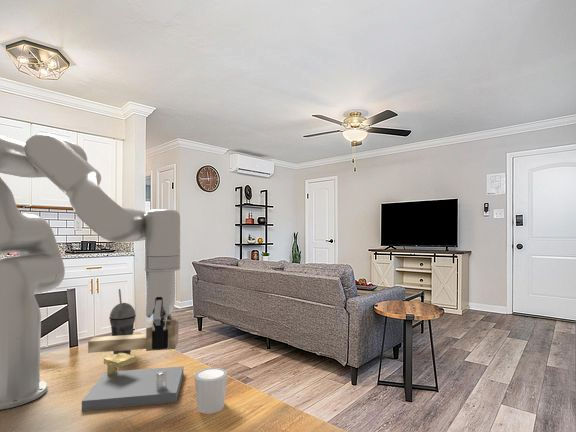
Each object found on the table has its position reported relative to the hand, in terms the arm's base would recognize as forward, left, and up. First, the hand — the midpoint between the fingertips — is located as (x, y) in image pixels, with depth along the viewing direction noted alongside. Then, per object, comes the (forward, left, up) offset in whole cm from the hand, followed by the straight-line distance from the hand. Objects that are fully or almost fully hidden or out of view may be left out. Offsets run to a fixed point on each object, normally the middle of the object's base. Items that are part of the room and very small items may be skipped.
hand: (162, 342), depth 79 cm
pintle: (0, 0, -12) cm, 12 cm away
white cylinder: (+11, -6, -12) cm, 18 cm away
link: (-6, 0, -1) cm, 6 cm away
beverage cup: (-16, +30, -12) cm, 36 cm away
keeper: (-11, +9, -12) cm, 19 cm away
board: (-6, +5, -12) cm, 15 cm away
